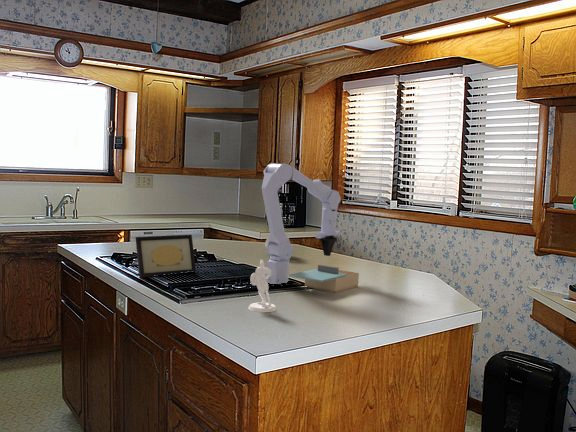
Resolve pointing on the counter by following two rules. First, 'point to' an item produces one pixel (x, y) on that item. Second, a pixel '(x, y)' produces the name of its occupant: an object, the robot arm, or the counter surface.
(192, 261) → the picture frame
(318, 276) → the lid
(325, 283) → the mailer box
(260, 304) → the figurine
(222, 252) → the counter surface
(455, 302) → the counter surface
